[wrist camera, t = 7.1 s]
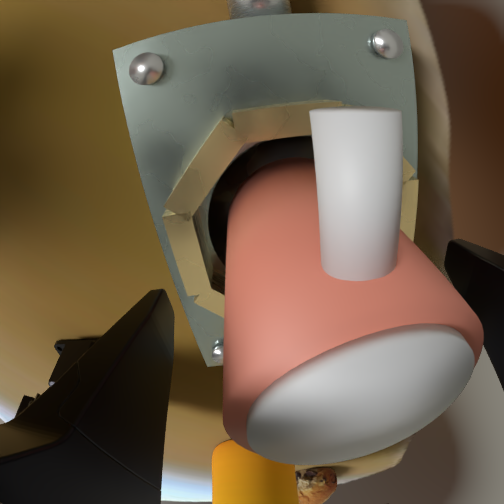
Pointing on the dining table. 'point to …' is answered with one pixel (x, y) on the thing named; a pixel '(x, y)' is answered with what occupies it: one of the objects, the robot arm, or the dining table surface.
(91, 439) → the robot arm
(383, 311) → the spout can
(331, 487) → the bread roll
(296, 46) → the grey hole base plate
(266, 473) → the beer bottle
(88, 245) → the dining table surface
